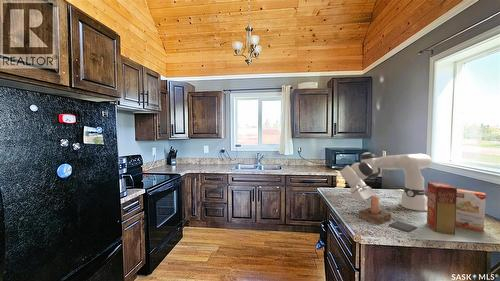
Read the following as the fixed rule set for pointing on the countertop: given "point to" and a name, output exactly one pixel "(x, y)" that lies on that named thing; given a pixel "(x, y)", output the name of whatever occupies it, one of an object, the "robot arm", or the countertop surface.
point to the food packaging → (441, 207)
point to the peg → (375, 205)
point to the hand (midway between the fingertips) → (374, 205)
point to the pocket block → (375, 216)
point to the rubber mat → (402, 226)
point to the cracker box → (470, 209)
